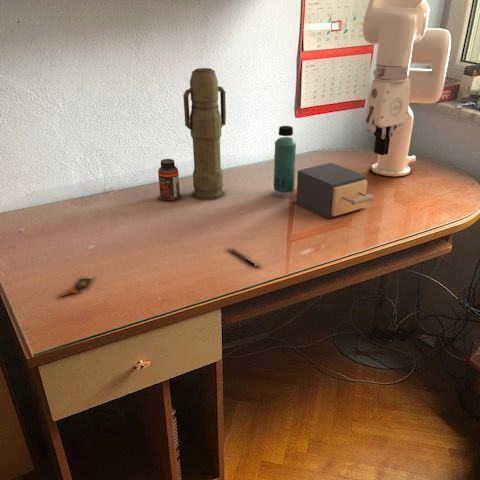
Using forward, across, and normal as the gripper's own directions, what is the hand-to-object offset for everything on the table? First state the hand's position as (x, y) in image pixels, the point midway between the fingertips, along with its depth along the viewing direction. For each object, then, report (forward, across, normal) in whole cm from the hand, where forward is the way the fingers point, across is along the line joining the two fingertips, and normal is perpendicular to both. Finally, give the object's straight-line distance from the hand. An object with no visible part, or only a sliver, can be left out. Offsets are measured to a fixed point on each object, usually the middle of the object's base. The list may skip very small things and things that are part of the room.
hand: (380, 153), depth 133 cm
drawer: (+18, 0, +13) cm, 22 cm away
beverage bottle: (+19, -5, +32) cm, 38 cm away
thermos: (+19, -24, +45) cm, 55 cm away
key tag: (+19, -77, +12) cm, 80 cm away
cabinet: (+19, 0, +17) cm, 26 cm away
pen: (+20, -39, +3) cm, 44 cm away
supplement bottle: (+19, -35, +49) cm, 63 cm away
